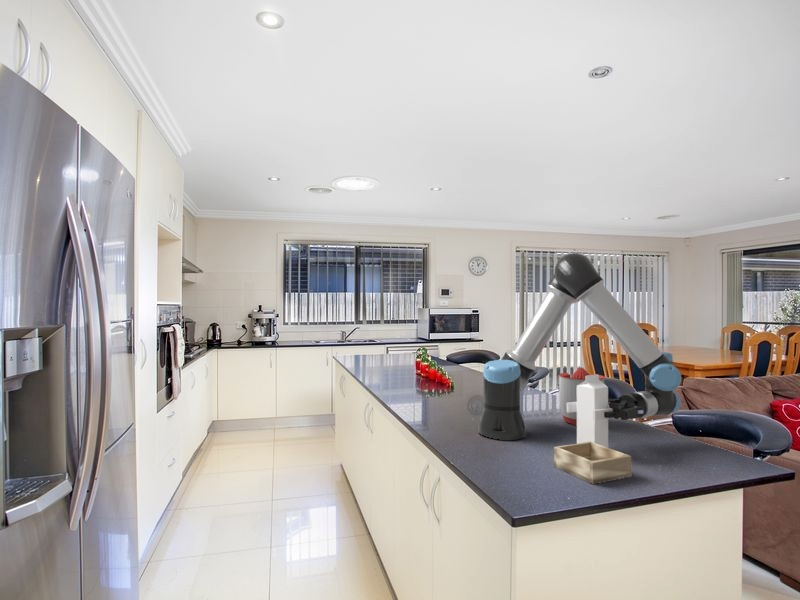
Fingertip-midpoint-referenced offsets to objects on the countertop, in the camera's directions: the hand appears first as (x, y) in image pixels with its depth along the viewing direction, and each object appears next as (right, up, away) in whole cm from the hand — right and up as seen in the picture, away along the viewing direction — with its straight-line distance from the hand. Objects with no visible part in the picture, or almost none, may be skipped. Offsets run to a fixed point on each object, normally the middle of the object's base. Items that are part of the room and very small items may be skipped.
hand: (580, 411), depth 123 cm
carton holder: (-3, -12, -13) cm, 18 cm away
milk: (+4, -12, +1) cm, 13 cm away
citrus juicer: (+15, -13, +35) cm, 40 cm away
